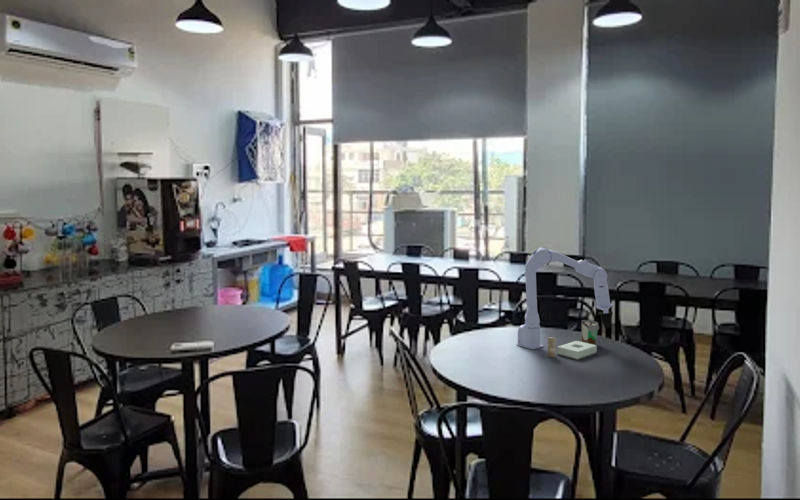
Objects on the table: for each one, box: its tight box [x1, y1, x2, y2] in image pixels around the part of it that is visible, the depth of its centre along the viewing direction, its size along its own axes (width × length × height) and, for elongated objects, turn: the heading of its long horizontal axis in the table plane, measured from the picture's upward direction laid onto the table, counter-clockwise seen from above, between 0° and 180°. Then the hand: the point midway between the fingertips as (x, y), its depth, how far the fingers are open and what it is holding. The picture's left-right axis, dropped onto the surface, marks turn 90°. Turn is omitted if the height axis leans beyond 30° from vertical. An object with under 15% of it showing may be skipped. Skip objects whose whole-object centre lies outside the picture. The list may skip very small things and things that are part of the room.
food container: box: [580, 319, 600, 345], centre depth 282 cm, size 12×6×10 cm, turn 179°
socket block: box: [556, 340, 598, 361], centre depth 268 cm, size 10×14×4 cm
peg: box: [547, 336, 557, 359], centre depth 264 cm, size 3×3×8 cm
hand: (606, 325), depth 273 cm, fingers open, 7 cm apart
